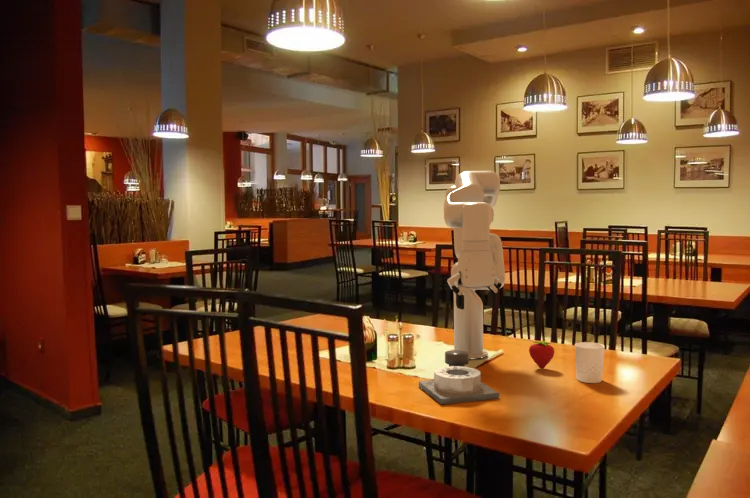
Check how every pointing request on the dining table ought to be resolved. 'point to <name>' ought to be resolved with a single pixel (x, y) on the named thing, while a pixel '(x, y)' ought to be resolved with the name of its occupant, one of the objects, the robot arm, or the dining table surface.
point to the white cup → (589, 361)
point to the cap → (456, 358)
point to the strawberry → (541, 353)
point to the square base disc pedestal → (458, 386)
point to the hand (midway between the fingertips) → (476, 307)
